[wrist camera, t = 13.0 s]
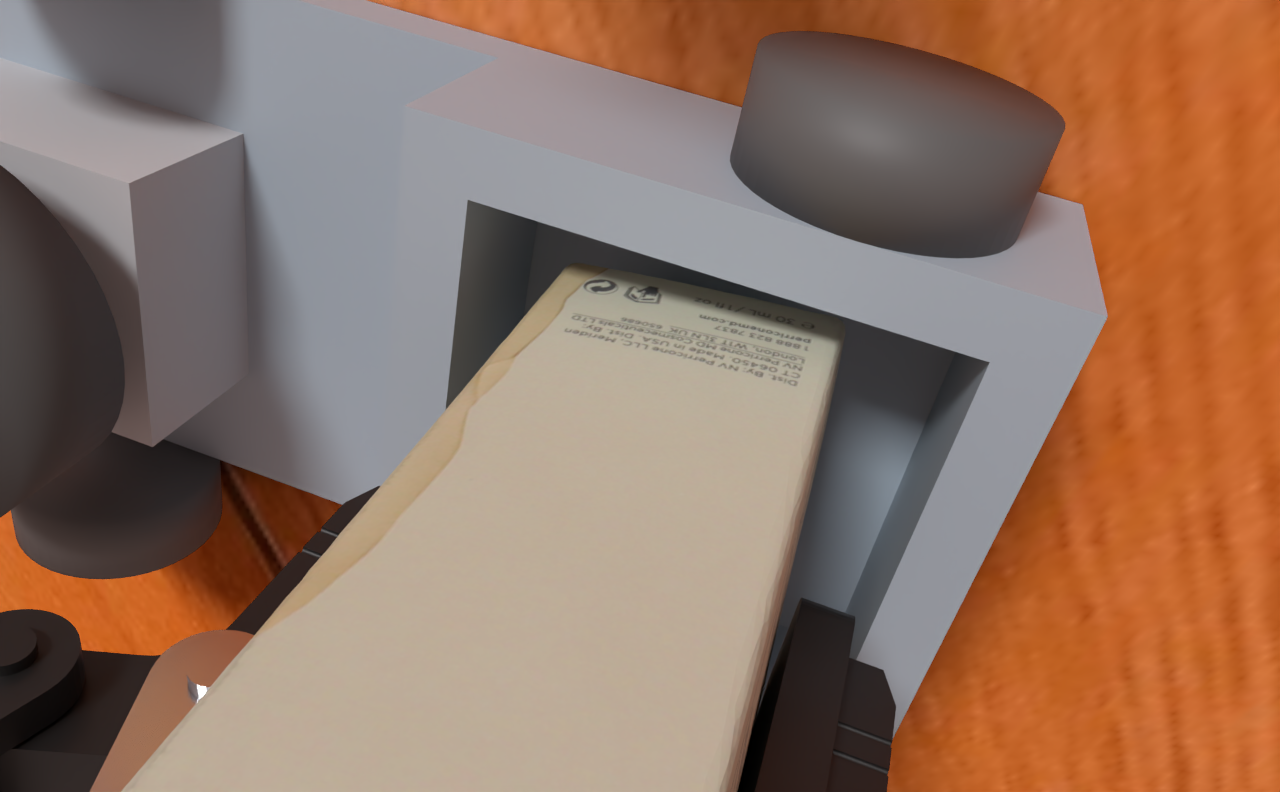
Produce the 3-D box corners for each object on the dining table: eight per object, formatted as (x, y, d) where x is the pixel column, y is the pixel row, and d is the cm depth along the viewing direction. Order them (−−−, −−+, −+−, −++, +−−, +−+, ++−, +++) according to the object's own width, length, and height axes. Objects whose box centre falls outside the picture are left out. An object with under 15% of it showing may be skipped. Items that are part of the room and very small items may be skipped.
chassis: (1127, 106, 14) (1169, 197, 11) (849, 709, 21) (822, 875, 18) (-65, -215, 17) (-320, -221, 14) (37, 409, 24) (-115, 504, 21)
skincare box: (570, 250, 15) (-268, 1123, 5) (866, 314, 14) (553, 1525, 4) (548, 568, 18) (14, 1478, 8) (788, 636, 18) (508, 1745, 8)
